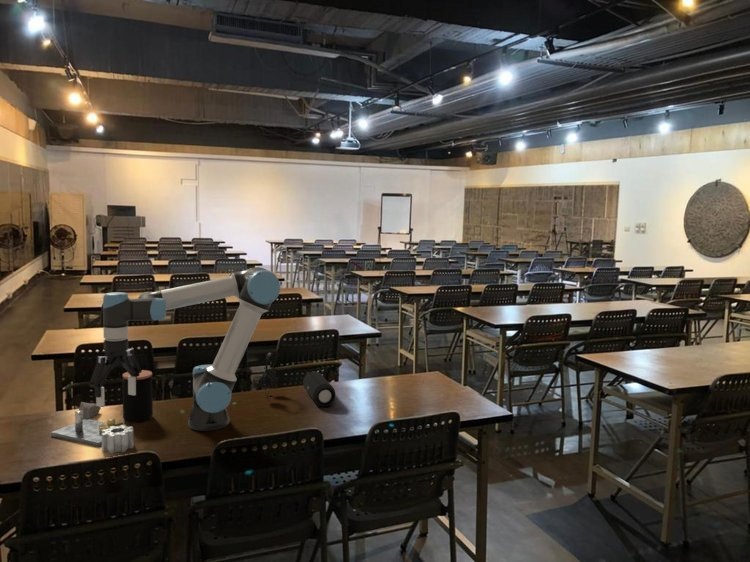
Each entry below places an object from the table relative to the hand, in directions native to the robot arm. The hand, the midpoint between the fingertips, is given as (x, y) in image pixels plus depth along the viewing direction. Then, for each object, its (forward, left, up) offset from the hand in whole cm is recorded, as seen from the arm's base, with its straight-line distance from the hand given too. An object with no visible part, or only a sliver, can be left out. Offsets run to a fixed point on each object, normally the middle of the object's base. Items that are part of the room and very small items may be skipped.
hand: (116, 400), depth 189 cm
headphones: (-19, -70, -17) cm, 74 cm away
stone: (+33, -18, -17) cm, 41 cm away
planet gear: (0, 0, -16) cm, 17 cm away
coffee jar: (+14, -24, -17) cm, 32 cm away
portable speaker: (-38, -77, -17) cm, 88 cm away
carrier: (+17, -5, -16) cm, 24 cm away
